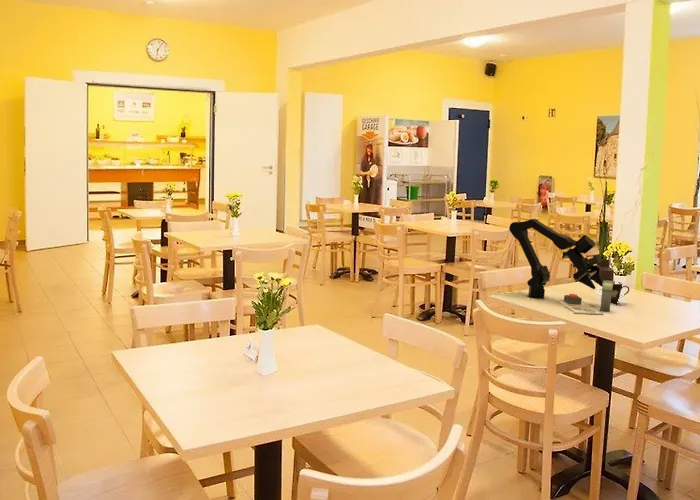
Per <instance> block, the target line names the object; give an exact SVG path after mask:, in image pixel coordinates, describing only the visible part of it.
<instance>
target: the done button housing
mask: <svg viewBox="0 0 700 500" xmlns="http://www.w3.org/2000/svg"><path fill="white" fill-rule="evenodd" d="M563 301H564V302H566V303H568V304H581V302H583V301H582V297H580V296H579V295H577V298H570V297H569V294H564V295H563Z"/></svg>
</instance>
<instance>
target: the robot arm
mask: <svg viewBox="0 0 700 500" xmlns="http://www.w3.org/2000/svg"><path fill="white" fill-rule="evenodd" d="M531 229H533V230H534V231H536V232H537V233H540V234H541V235H543V236H544V237H546V238H547V239H549V240H550V241H551V242H552V243H553V245H554V246H556V247H557V249H559V250H561V251H562V256H561V258H562V259H564V258H568V259H569V261H570V262H571V263H572V267H573V268H575V269H576V270H577V271H575V273H573V274H572V277H573V279H574V280H575V281H576V282H579V283H581V284H583V285H585V286H586V287H588V288H590V289H592V290H595V289H596V286H595V284H594V283H596V284H597V285H599V286H600V287H601V288H602V285H603V281H604V280H603V279H602V275H601V273H602V269H603V267H602V266H601V265H600V264H601V263H602V259H603V258H602V257H601V256H600V255H599V254H594V255H593V257H590V258H588V257H587V256H586V257H585V256H584V255H583V254H587V253H588V252H589V251H591V250H592V249H593V248H595V247H596V243H595V241H594V240H593V239H591V237H589V236H587V234H584V235H582V236H581V237H580V238H579V239H578V240H574V239H573V238H572V237H571V236H568V235H566V234H564V233H560V232H557V231H555V230H554V229H552V228H551V227H550V226H547V225H546V224H544V223H542V222H541V221H539V219H537V218H530V219H527V220H525V221H513V222H512V223H510V225H509V227H508V230H509V232H510V233H511V235H512V237H514V238H515V239H516V240H517V241H518V243H519V245H520V246H521V250H522V251H523V253H524V255H525V258H526V259H527V261H528V263H529V266H530V273H531V274H530V275H531V278H530V279H528V280H527V286H529V287H528V295H526V296H527V297H528V298H530V299H539V300H544V299H545V291H546V289H545V286H546V284H547V282H549V281H550V278H551V275H550V274H551V272H550V270H549V269H548V266H547V265H543V264H542V263H541V262H540V260H539V257H538V255H537V253H536V251H535V249H534V247H533V245H532V243H531V241H530V239H529V230H531ZM563 250H566V251H563Z"/></svg>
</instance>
